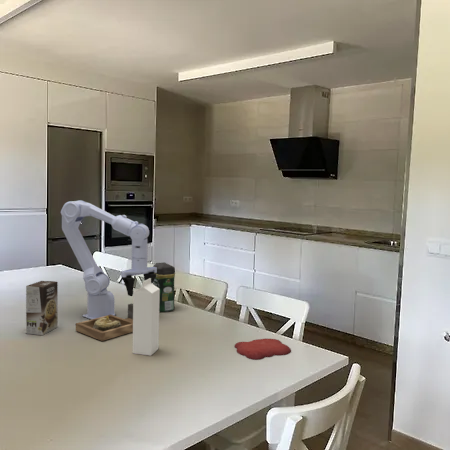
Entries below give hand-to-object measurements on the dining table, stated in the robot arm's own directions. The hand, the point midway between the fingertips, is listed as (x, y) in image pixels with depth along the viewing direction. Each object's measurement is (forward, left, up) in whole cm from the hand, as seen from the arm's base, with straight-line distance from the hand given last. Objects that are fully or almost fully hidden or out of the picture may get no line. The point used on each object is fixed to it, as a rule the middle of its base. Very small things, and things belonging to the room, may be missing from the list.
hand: (139, 294), depth 172 cm
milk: (+20, +26, -10) cm, 34 cm away
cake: (+16, +2, -10) cm, 19 cm away
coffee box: (+31, -13, -10) cm, 35 cm away
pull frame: (+14, +3, -9) cm, 17 cm away
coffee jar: (-15, -3, -10) cm, 18 cm away
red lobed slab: (-6, +51, -10) cm, 52 cm away
